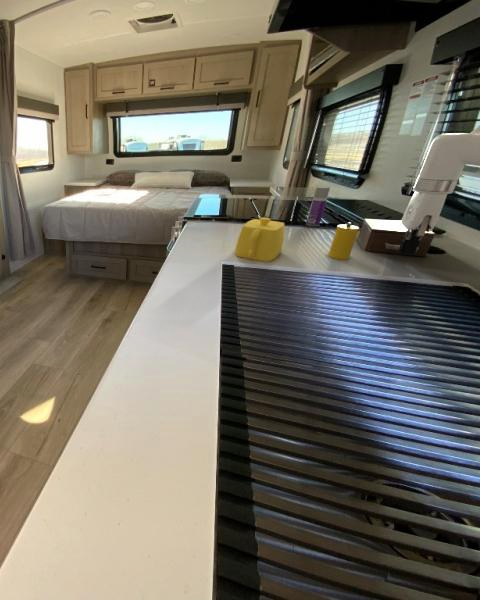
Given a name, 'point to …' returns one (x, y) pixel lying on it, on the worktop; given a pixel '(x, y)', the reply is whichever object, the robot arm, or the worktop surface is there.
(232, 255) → the worktop surface
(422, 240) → the drawer
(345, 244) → the yellow cylinder
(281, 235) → the teapot
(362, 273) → the worktop surface
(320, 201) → the container
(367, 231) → the cabinet
